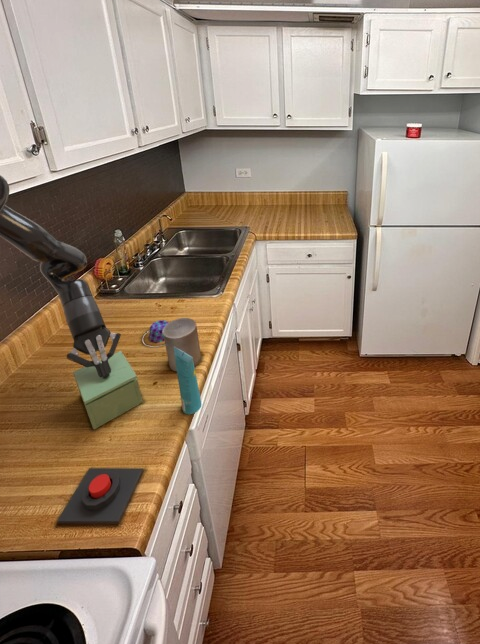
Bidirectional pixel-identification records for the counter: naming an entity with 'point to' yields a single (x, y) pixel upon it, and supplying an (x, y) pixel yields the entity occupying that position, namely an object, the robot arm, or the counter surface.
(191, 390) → the tube
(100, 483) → the button
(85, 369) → the lid
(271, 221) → the counter surface
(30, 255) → the robot arm
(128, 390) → the breadbin
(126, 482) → the button block
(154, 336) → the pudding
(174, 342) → the pillar candle
